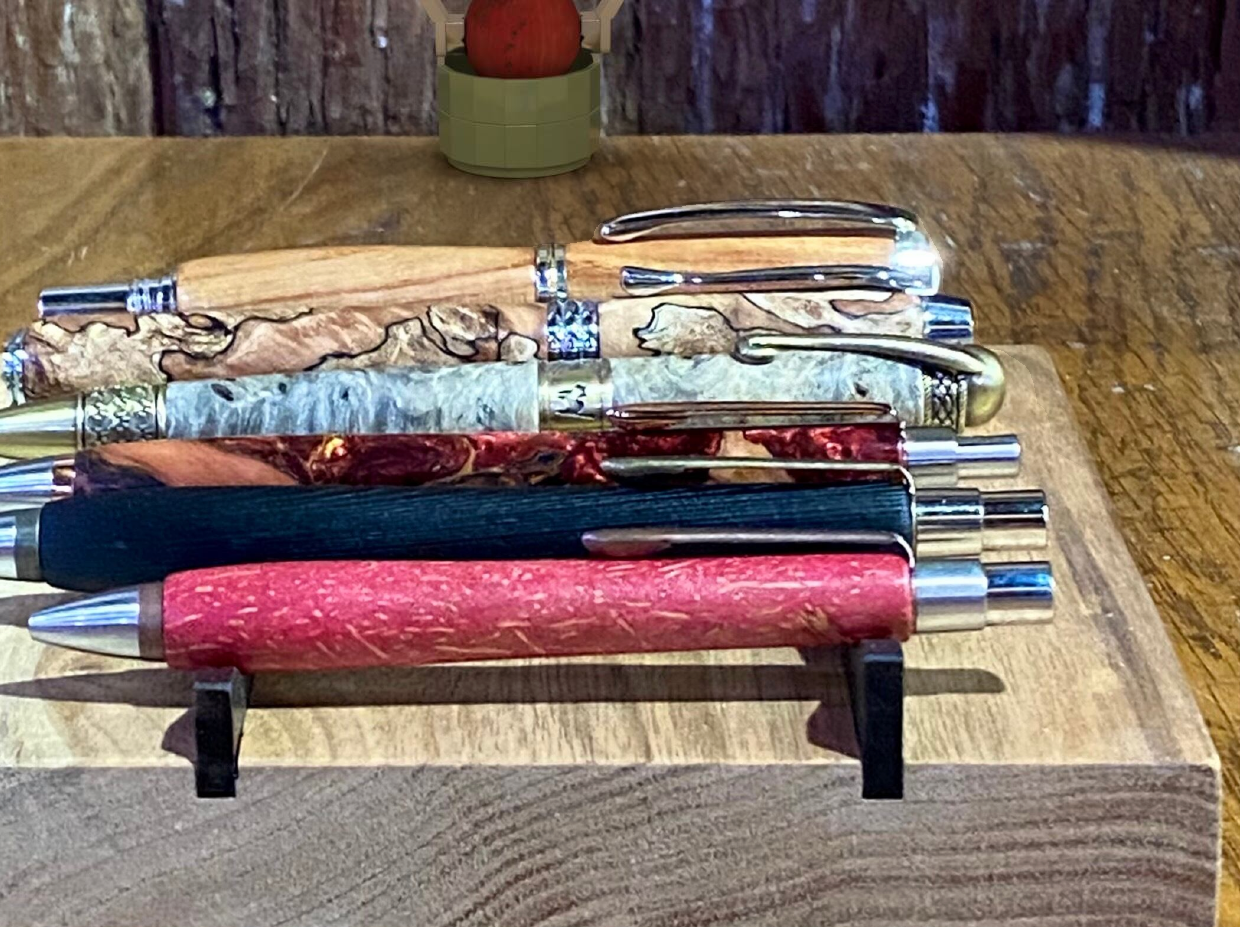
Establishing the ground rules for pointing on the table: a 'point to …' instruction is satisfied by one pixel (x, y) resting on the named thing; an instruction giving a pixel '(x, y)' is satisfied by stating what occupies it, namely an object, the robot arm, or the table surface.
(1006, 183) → the table surface
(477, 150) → the bowl
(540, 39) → the onion
